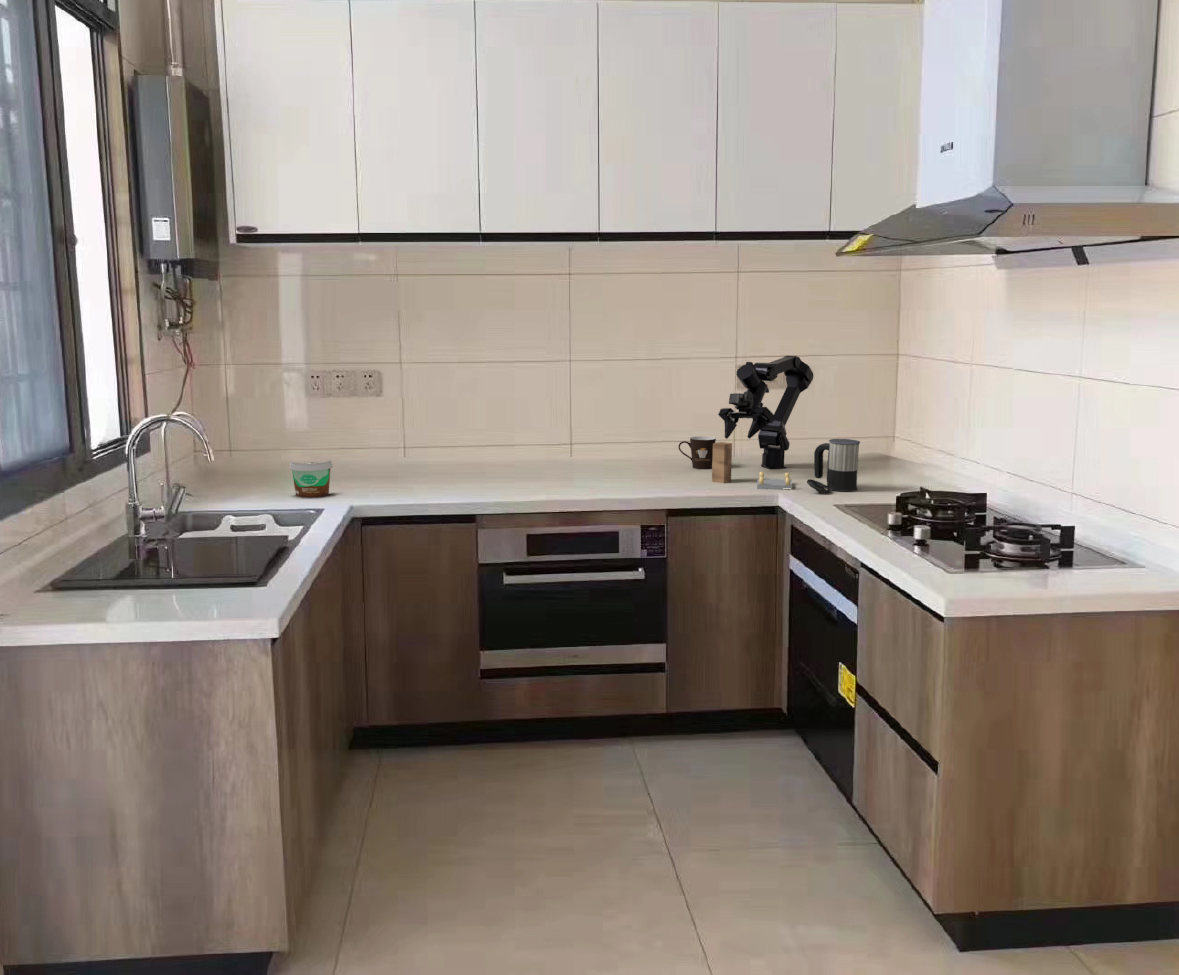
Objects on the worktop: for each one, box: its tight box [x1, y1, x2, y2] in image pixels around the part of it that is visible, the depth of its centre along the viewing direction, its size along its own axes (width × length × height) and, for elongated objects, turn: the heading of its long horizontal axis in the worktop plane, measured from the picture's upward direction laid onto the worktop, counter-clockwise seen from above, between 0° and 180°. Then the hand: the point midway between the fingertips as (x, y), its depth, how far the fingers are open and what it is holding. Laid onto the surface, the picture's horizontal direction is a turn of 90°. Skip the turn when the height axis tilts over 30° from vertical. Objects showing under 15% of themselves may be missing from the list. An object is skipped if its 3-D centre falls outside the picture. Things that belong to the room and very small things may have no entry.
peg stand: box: [756, 471, 793, 490], centre depth 343 cm, size 10×10×3 cm
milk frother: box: [806, 438, 861, 494], centre depth 335 cm, size 14×16×15 cm
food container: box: [289, 459, 334, 499], centre depth 323 cm, size 12×6×10 cm, turn 106°
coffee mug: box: [678, 435, 717, 470], centre depth 375 cm, size 12×9×10 cm
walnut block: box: [711, 441, 733, 484], centre depth 349 cm, size 4×4×12 cm
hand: (737, 437), depth 355 cm, fingers open, 9 cm apart
